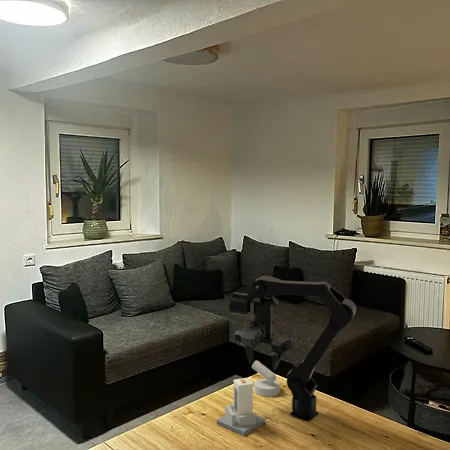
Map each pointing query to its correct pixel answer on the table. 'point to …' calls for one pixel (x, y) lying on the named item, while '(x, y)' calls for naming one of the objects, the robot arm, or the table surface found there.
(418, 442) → the table surface
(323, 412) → the table surface
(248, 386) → the white block orange patch
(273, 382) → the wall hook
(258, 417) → the plate
